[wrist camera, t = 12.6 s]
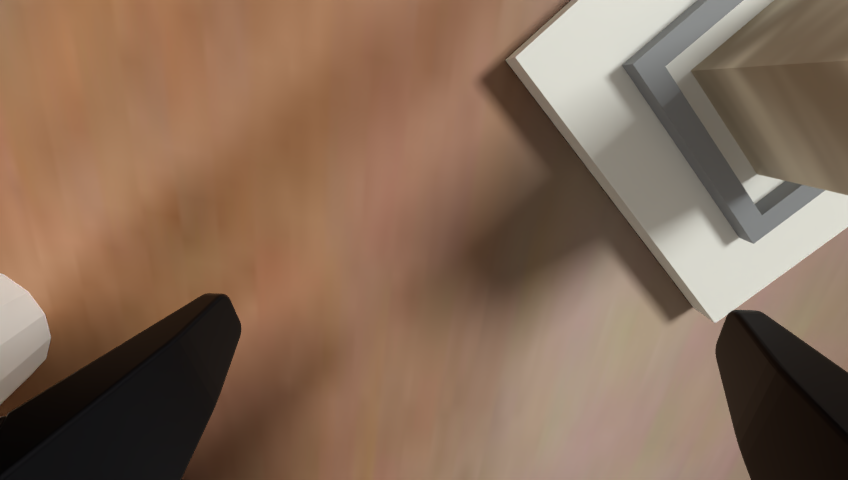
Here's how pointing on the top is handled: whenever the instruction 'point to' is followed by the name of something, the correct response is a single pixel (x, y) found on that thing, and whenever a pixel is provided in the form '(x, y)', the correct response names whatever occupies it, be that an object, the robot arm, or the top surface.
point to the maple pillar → (787, 91)
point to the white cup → (20, 336)
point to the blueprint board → (673, 143)
